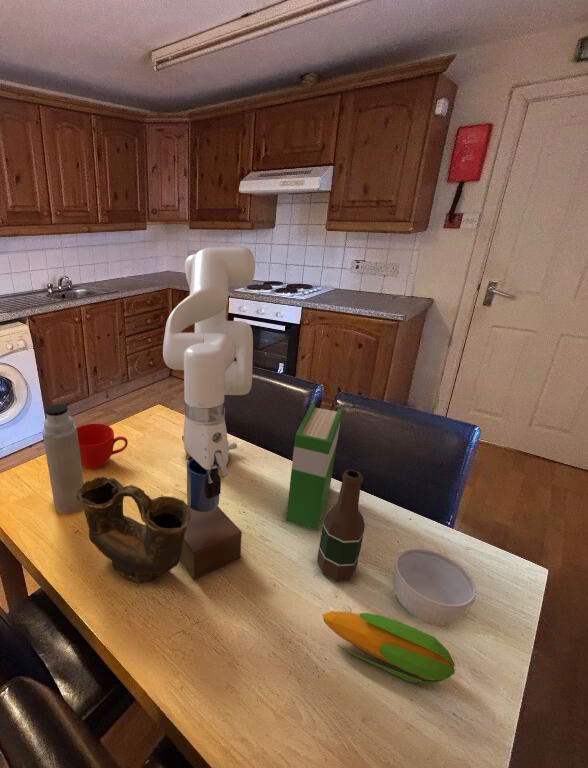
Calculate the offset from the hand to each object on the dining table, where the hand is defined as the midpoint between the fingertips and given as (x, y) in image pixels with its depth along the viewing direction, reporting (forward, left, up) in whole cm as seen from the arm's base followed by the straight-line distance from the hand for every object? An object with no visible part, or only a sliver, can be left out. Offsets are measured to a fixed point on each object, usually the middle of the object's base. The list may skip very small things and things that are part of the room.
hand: (203, 485), depth 86 cm
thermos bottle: (+22, -30, -18) cm, 41 cm away
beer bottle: (-22, +18, -18) cm, 34 cm away
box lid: (0, 0, -11) cm, 11 cm away
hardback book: (-32, 0, -18) cm, 37 cm away
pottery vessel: (+15, -4, -18) cm, 23 cm away
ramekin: (-31, +32, -18) cm, 48 cm away
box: (0, 0, -18) cm, 18 cm away
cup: (0, 0, -4) cm, 4 cm away
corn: (-14, +35, -18) cm, 42 cm away
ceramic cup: (+9, -44, -18) cm, 48 cm away
